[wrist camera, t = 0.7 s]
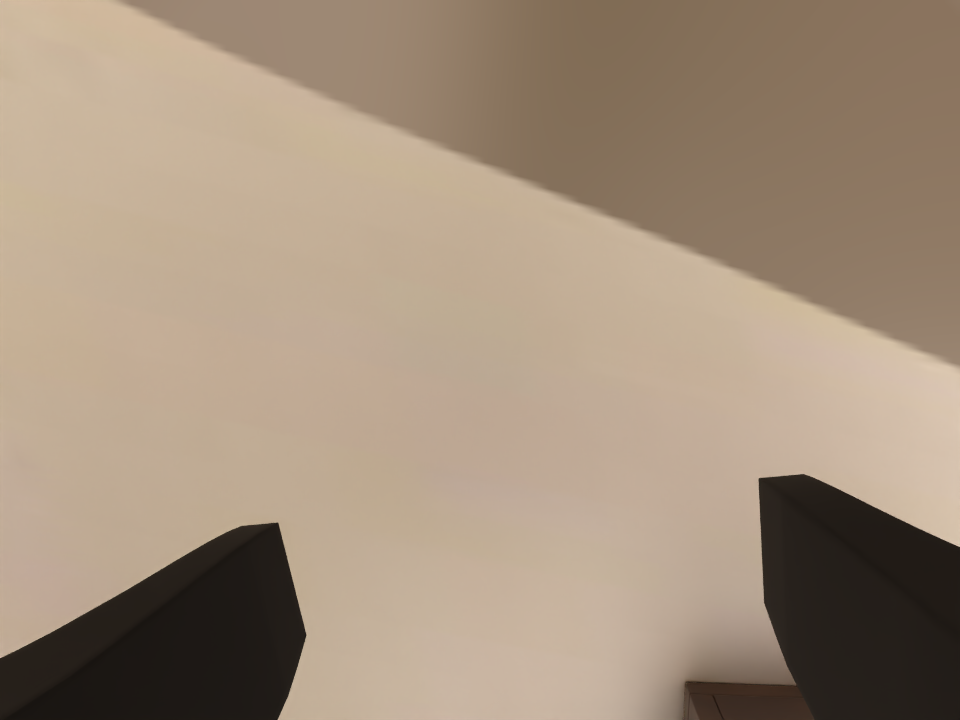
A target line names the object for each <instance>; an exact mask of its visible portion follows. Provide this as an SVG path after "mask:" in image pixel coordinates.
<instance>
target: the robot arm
mask: <svg viewBox="0 0 960 720" xmlns="http://www.w3.org/2000/svg"><path fill="white" fill-rule="evenodd" d="M759 499H760V521H761V543H762V564H763V586H764V604H765V606H766V609H767V612H768V615H769V618H770V621H771V623H772V626H773V629H774V632H775V635H776V638H777V640H778V643H779V645H780V648H781V651H782V653H783V656H784V659H785V661H786V664H787V667H788V669H789V671H790V673H791V675H792V677H793V679H794V681H795V683H796V684H797V686H798V688H799V690H800V692H801V694H802V696H803V698H804V700H805V702H806V704H807V706H808V708H809V710H810V712H811V714H812V716H813V718H814V719H815V720H960V547H958V546H956V545H953V544H951V543H949V542H947V541H944V540H942V539H940V538H938V537H936V536H933V535H931V534H929V533H927V532H925V531H923V530H920V529H918V528H916V527H914V526H912V525H910V524H908V523H906V522H904V521H902V520H900V519H897V518H895V517H893V516H891V515H889V514H887V513H885V512H883V511H881V510H879V509H877V508H875V507H873V506H871V505H869V504H867V503H865V502H863V501H861V500H859V499H857V498H855V497H853V496H851V495H849V494H847V493H845V492H843V491H841V490H839V489H837V488H835V487H832V486H830V485H828V484H826V483H824V482H822V481H820V480H817V479H815V478H813V477H810V476H807V475H804V474H800V475H789V476H779V477H768V478H759ZM305 638H306V632H305V628H304V624H303V620H302V616H301V612H300V608H299V604H298V600H297V596H296V592H295V588H294V584H293V580H292V576H291V572H290V568H289V564H288V560H287V556H286V552H285V548H284V544H283V540H282V536H281V532H280V528H279V524H278V523H269V524H258V525H247V526H240V527H238V528H236V529H233V530H231V531H229V532H226V533H224V534H222V535H220V536H219V537H217V538H215V539H213V540H211V541H209V542H207V543H206V544H204V545H202V546H200V547H199V548H197V549H195V550H193V551H192V552H190V553H188V554H187V555H185V556H183V557H181V558H180V559H178V560H176V561H175V562H173V563H171V564H170V565H168V566H166V567H165V568H163V569H161V570H160V571H158V572H156V573H155V574H153V575H151V576H150V577H148V578H146V579H145V580H143V581H141V582H140V583H138V584H136V585H135V586H133V587H131V588H129V589H128V590H126V591H124V592H123V593H121V594H119V595H117V596H116V597H114V598H112V599H110V600H109V601H107V602H105V603H103V604H101V605H100V606H98V607H96V608H94V609H93V610H91V611H89V612H87V613H85V614H84V615H82V616H80V617H78V618H77V619H75V620H73V621H71V622H69V623H68V624H66V625H64V626H62V627H61V628H59V629H57V630H55V631H53V632H51V633H50V634H48V635H46V636H44V637H42V638H40V639H38V640H36V641H34V642H32V643H30V644H28V645H26V646H24V647H22V648H21V649H19V650H17V651H15V652H13V653H11V654H8V655H6V656H4V657H2V658H0V720H278V717H279V715H280V713H281V711H282V709H283V706H284V704H285V702H286V699H287V697H288V694H289V691H290V688H291V685H292V682H293V679H294V676H295V673H296V670H297V667H298V663H299V659H300V656H301V652H302V649H303V645H304V642H305Z"/></svg>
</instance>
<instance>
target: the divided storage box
mask: <svg viewBox="0 0 960 720" xmlns="http://www.w3.org/2000/svg"><path fill="white" fill-rule="evenodd" d="M683 720H815V719H814V718H813V716H812V714H811V712H810V710H809V708H808V706H807V704H806V702H805V700H804V698H803V696H802V694H801V692H800V690H799V688H798V686H774V685H746V684H718V683H690V682H687V683H686V684H685V700H684V717H683Z"/></svg>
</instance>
